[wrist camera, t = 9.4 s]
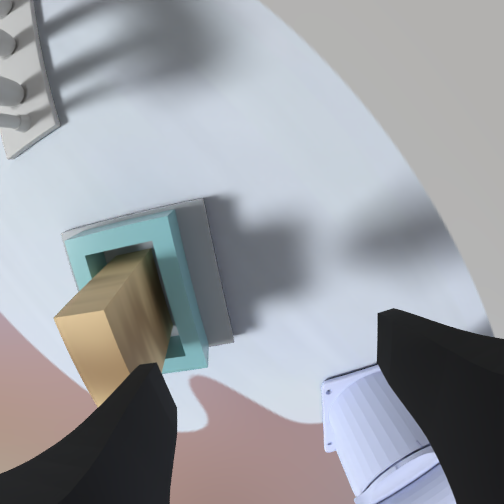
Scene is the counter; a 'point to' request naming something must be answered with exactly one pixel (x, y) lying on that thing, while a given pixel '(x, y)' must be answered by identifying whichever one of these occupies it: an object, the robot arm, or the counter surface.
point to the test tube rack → (23, 80)
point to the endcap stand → (165, 272)
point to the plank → (117, 323)
